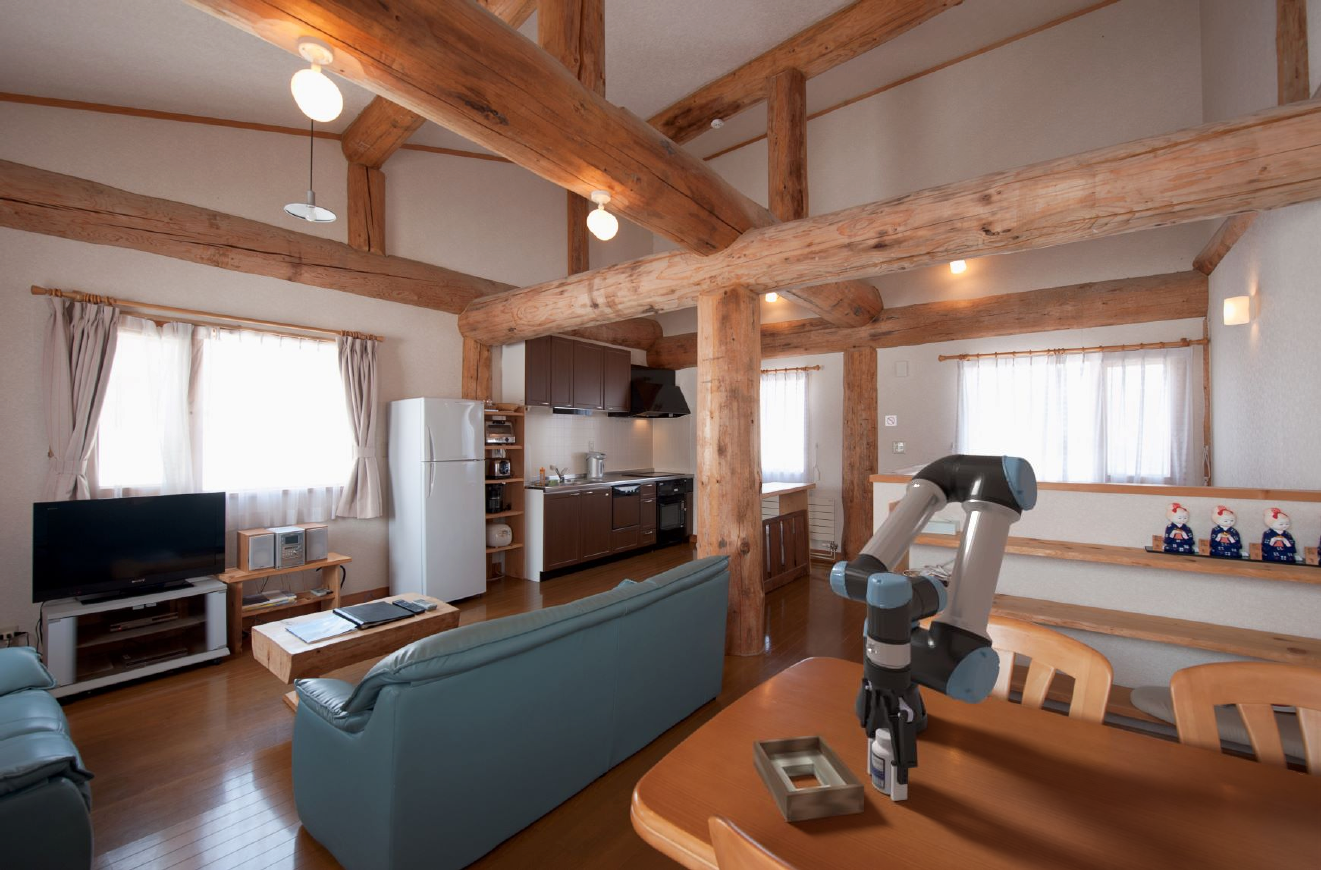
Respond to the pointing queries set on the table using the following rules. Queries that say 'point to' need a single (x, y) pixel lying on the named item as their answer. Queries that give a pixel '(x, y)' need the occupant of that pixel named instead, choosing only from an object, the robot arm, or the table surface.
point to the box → (805, 758)
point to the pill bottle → (882, 761)
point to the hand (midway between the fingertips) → (886, 785)
